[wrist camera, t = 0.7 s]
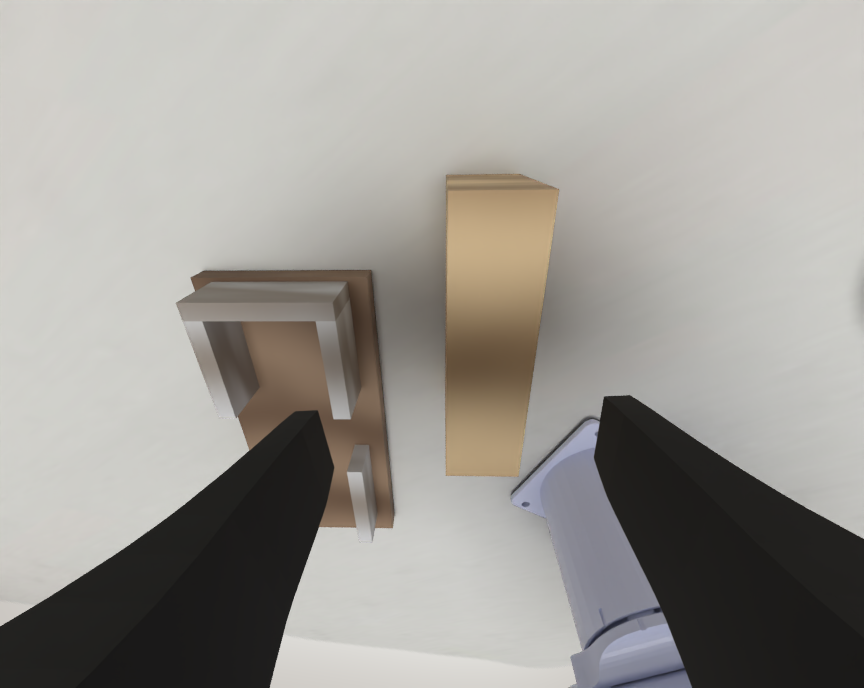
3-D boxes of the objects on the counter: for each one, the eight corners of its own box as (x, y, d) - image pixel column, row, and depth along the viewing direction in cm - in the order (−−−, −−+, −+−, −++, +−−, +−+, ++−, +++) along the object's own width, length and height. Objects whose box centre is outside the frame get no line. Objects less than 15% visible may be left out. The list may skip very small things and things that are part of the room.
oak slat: (499, 390, 20) (518, 476, 15) (445, 390, 20) (445, 475, 15) (518, 173, 15) (558, 189, 10) (446, 174, 15) (447, 190, 10)
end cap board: (394, 514, 25) (387, 565, 22) (281, 513, 26) (259, 563, 23) (371, 270, 17) (355, 297, 14) (203, 271, 17) (151, 297, 14)
